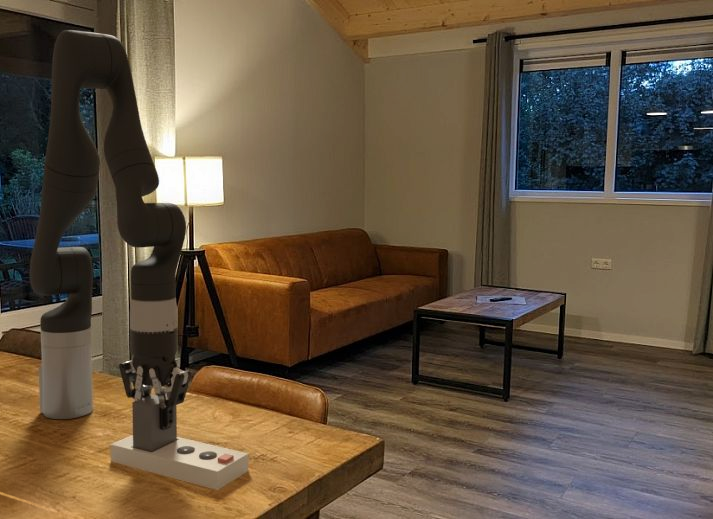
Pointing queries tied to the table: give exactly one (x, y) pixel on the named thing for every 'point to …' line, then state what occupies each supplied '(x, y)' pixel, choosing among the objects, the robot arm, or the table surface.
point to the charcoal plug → (151, 425)
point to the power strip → (185, 461)
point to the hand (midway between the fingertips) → (155, 425)
